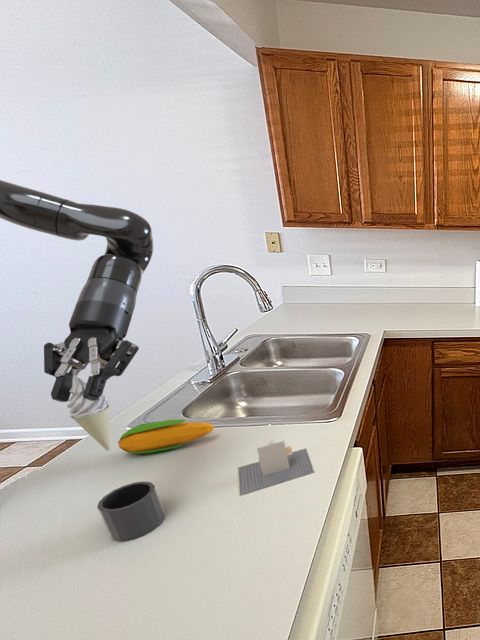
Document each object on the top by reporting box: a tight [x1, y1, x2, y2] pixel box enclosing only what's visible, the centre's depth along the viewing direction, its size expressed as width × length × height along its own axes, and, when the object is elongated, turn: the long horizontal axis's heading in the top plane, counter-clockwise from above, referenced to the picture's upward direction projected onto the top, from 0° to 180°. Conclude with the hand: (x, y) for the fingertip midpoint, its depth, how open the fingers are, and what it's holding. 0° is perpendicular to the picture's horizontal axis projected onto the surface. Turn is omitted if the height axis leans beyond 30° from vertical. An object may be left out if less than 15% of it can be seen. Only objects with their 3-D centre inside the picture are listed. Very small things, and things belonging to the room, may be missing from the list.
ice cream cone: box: [66, 374, 111, 451], centre depth 68 cm, size 5×5×15 cm
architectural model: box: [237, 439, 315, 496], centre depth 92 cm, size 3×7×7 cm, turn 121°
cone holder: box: [97, 481, 166, 542], centre depth 75 cm, size 8×8×7 cm
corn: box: [117, 419, 215, 454], centre depth 100 cm, size 7×8×20 cm
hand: (75, 399), depth 65 cm, fingers closed on ice cream cone, 4 cm apart
